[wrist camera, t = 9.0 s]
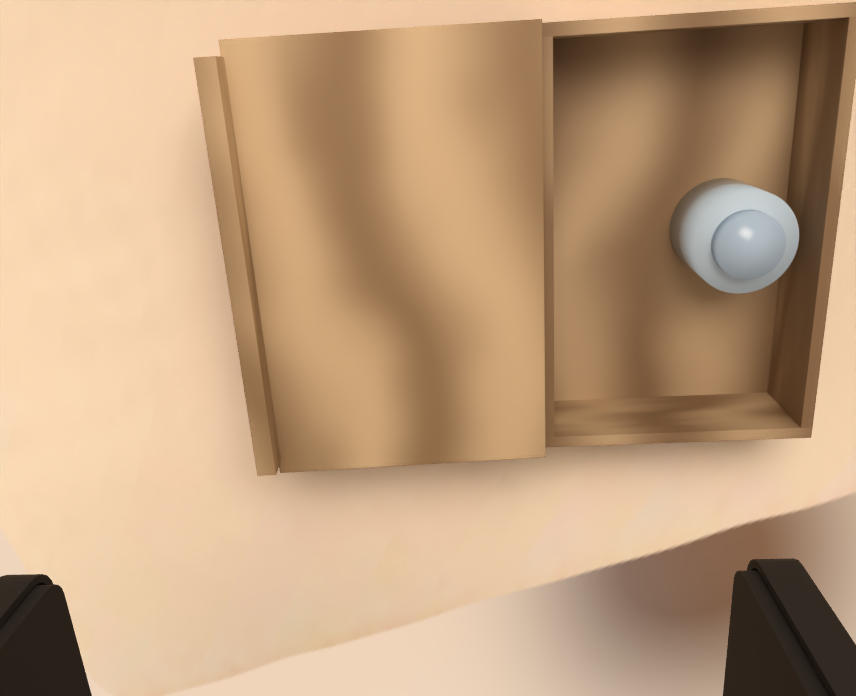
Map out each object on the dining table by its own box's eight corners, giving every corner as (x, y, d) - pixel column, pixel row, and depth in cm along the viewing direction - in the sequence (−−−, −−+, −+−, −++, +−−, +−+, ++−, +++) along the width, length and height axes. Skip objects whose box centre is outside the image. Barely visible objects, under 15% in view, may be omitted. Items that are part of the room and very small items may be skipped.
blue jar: (770, 175, 35) (812, 189, 31) (762, 270, 36) (800, 295, 32) (671, 180, 35) (699, 195, 31) (667, 274, 36) (693, 300, 32)
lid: (190, 39, 27) (203, 41, 29) (259, 487, 33) (267, 467, 35) (547, 16, 27) (539, 20, 29) (550, 470, 33) (543, 450, 35)
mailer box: (812, 9, 33) (865, 1, 28) (772, 397, 39) (811, 437, 35) (529, 28, 33) (539, 23, 29) (534, 406, 39) (543, 447, 35)
